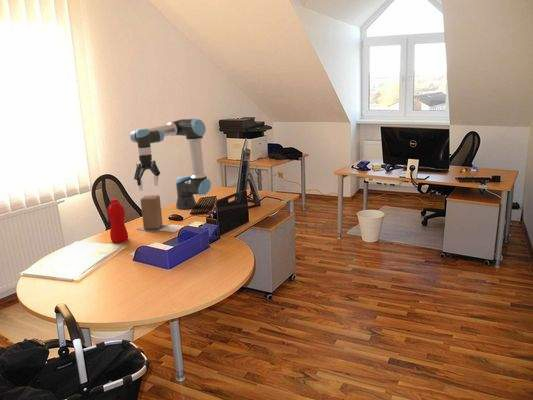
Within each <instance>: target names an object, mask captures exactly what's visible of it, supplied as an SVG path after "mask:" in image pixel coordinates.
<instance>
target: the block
mask: <svg viewBox="0 0 533 400" xmlns="http://www.w3.org/2000/svg"><path fill="white" fill-rule="evenodd" d="M140 208H141V217H142V224H143V227H144V229H145V230H146V229H159V228H160V227H161V226H162V225H164V223H163V216H162V205H161V197H160V195H159V194H155V195H145V196H143V197H141V198H140Z"/></svg>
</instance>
